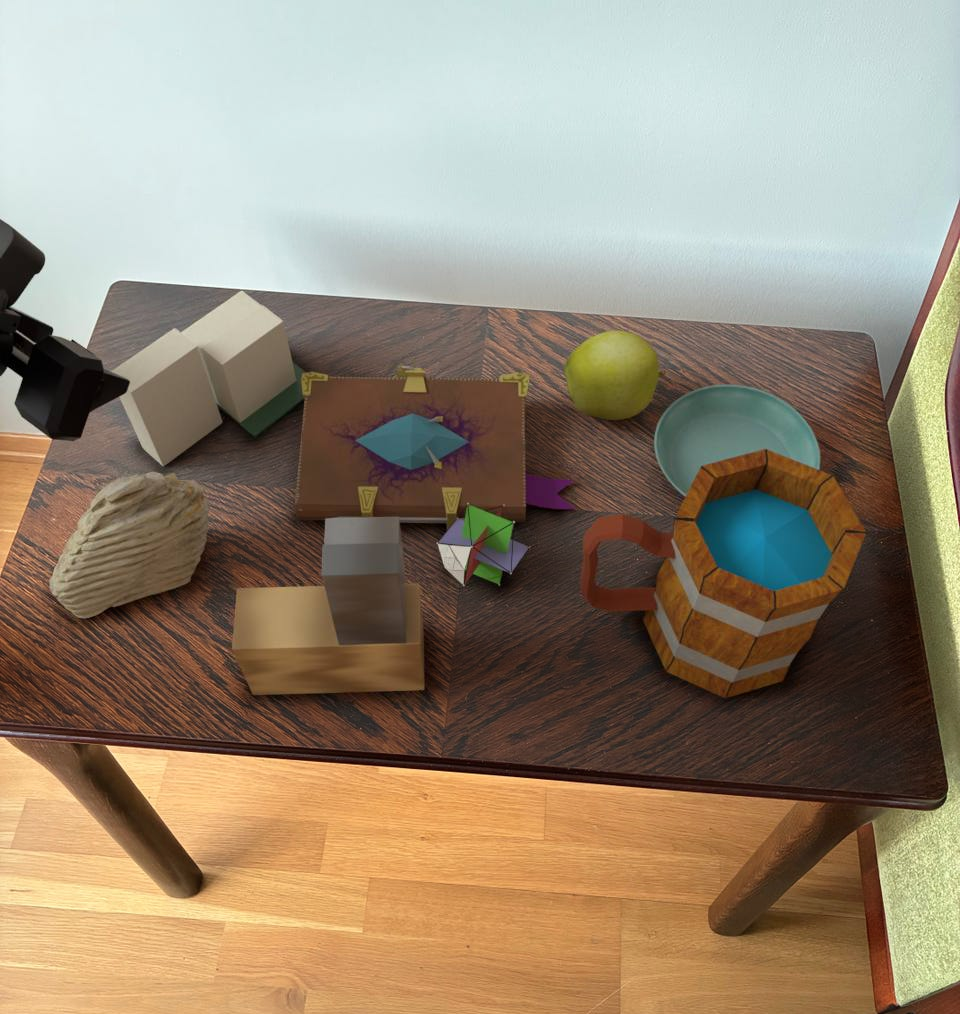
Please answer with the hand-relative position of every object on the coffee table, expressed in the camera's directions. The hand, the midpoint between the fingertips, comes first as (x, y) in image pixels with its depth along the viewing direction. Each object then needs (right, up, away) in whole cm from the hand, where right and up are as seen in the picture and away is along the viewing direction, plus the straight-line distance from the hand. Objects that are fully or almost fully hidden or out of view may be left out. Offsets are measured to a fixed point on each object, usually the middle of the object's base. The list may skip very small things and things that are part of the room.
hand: (88, 359), depth 80 cm
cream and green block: (+9, +2, +16) cm, 19 cm away
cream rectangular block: (+4, -3, +14) cm, 14 cm away
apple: (+43, 0, +16) cm, 46 cm away
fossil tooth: (+2, -16, +7) cm, 18 cm away
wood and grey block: (+19, -24, +3) cm, 31 cm away
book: (+27, -6, +13) cm, 30 cm away
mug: (+48, -21, +5) cm, 53 cm away
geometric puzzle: (+31, -16, +8) cm, 36 cm away
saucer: (+54, -6, +13) cm, 56 cm away
